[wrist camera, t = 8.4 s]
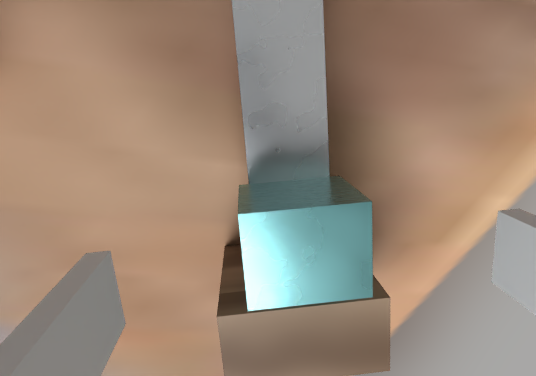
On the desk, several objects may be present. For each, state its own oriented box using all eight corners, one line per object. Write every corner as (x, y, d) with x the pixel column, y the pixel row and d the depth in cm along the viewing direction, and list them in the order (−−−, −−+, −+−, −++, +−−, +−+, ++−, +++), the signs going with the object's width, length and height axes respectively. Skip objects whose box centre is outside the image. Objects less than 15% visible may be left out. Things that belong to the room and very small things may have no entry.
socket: (224, 246, 24) (216, 316, 16) (343, 234, 24) (390, 297, 17) (231, 299, 25) (226, 390, 17) (344, 287, 25) (389, 370, 18)
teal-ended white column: (216, -59, 19) (196, -187, 10) (312, -64, 19) (369, -194, 10) (250, 275, 23) (254, 375, 15) (326, 267, 23) (373, 361, 15)
